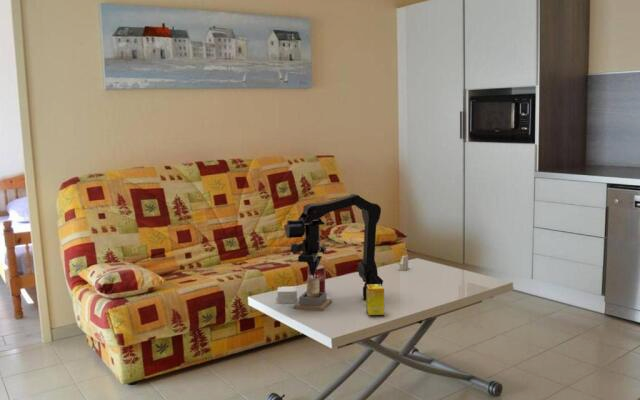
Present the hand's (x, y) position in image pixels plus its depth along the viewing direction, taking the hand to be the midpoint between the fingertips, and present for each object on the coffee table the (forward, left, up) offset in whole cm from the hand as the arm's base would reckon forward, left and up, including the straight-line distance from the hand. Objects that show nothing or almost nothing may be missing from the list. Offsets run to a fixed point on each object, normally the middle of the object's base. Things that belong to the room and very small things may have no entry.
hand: (312, 275), depth 235 cm
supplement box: (-26, +5, -12) cm, 29 cm away
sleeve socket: (0, 0, -12) cm, 12 cm away
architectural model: (-26, -66, -13) cm, 72 cm away
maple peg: (0, 0, -11) cm, 11 cm away
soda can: (+3, -15, -12) cm, 20 cm away
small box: (+12, -3, -13) cm, 18 cm away
